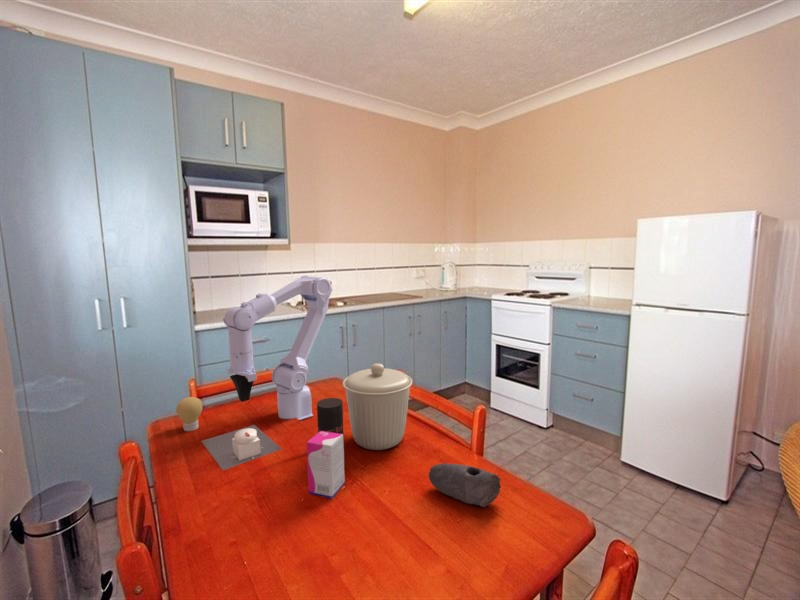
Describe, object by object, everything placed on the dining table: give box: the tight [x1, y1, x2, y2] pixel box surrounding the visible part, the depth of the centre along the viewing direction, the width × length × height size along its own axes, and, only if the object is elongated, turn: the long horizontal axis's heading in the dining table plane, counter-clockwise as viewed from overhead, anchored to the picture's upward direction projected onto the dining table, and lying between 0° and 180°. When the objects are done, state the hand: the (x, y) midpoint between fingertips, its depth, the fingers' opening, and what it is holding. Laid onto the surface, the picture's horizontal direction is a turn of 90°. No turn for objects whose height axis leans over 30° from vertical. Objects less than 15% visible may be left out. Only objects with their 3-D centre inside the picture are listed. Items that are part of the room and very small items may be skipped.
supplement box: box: [306, 431, 346, 500], centre depth 82 cm, size 6×6×12 cm
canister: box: [342, 362, 413, 451], centre depth 101 cm, size 18×18×21 cm
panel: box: [200, 424, 282, 471], centre depth 98 cm, size 14×18×4 cm
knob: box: [232, 428, 261, 460], centre depth 94 cm, size 5×5×5 cm
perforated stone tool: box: [428, 462, 502, 508], centre depth 79 cm, size 15×5×7 cm, turn 58°
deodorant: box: [316, 397, 345, 445], centre depth 91 cm, size 6×6×15 cm
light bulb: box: [175, 396, 204, 432], centre depth 108 cm, size 6×6×10 cm
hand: (244, 400), depth 105 cm, fingers closed
